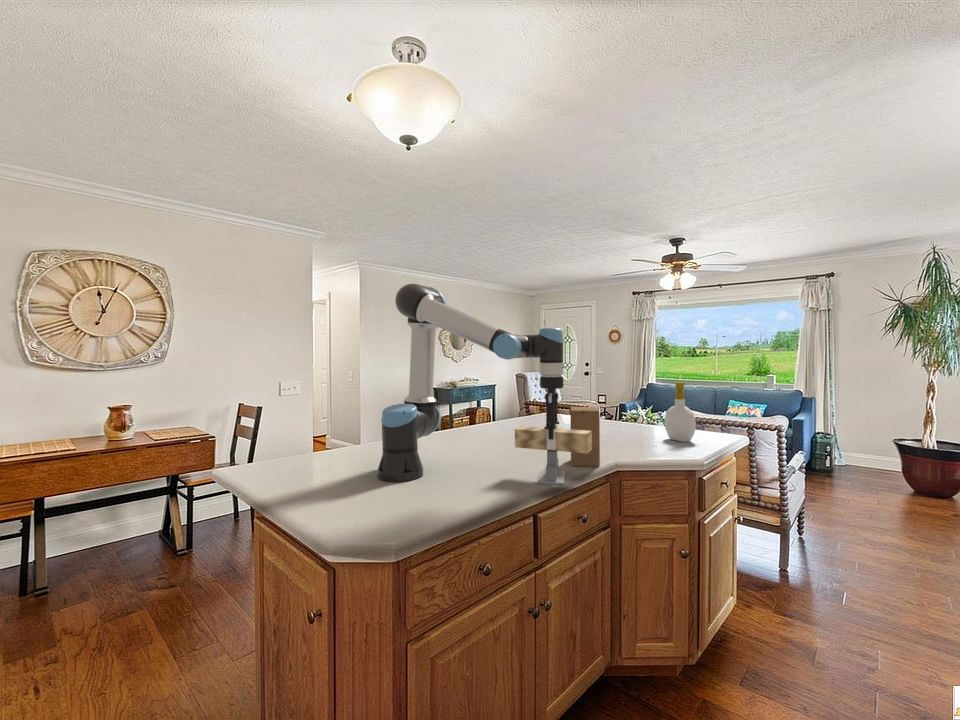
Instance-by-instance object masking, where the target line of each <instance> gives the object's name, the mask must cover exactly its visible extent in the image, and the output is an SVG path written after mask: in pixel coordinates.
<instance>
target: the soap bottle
mask: <svg viewBox="0 0 960 720" xmlns="http://www.w3.org/2000/svg"><path fill="white" fill-rule="evenodd" d="M674 383H675V388H676V391H675V398H674V405H673V406H671V407H669V409H667V410H666V413H665V416H664V426H665V431H666V434H667V436H668V438H669V439H670V440H672V441H676V442H681V443H688V442H691V441H692V439H693V437H694V435H695V432H696V425H697V424H696V416H695V415H694V412H693V411H692V410H691V409H690V408H689V407H688V406H686V399H685V392H684V387H685V386H687V385H688V384H686V383H685V382H682V381H680V382H679V381H677V382H674Z"/></svg>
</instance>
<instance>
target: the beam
mask: <svg viewBox="0 0 960 720" xmlns="http://www.w3.org/2000/svg"><path fill="white" fill-rule="evenodd" d="M555 429H556V428H555ZM514 448H516V449H517V448H518V449H528V450H529V449H531V450H540V451H541V450H542V451H547V450H552V449H547V429H544V427H536V426H519V427H516V428H515V429H514ZM591 450H592V431H588V430H572V429H571V428H568V429H567V428H557V429H556V450H552V451H557V452H563V453H565V452H566V453H567V452H568V453H571V452H575V453H589V452H590V451H591Z"/></svg>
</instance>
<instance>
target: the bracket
mask: <svg viewBox="0 0 960 720" xmlns="http://www.w3.org/2000/svg"><path fill="white" fill-rule="evenodd" d="M566 476H567V471H566V470H559V458H558V451H552V450H546V465H545V469H542V470H541V472H540V474H539V477H538V480H537V484H542V485H556V486H557V485H558V486H559V485H560V486H564V485H565V481H566Z"/></svg>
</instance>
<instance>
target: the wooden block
mask: <svg viewBox="0 0 960 720" xmlns="http://www.w3.org/2000/svg"><path fill="white" fill-rule="evenodd" d="M600 419H601V418H600V410H599V407H597V406H571V407H570V429H572V430H588V431H592V450H591V451H590V452H589V453H575V452H570V465H571V466H572V467H590V468H600V467H601V465H600V464H601V456H600V455H601V454H600V452H601V449H600V448H601V446H600V438H601V435H600V433H601V432H600V431H601V430H600V425H601V421H600Z"/></svg>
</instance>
